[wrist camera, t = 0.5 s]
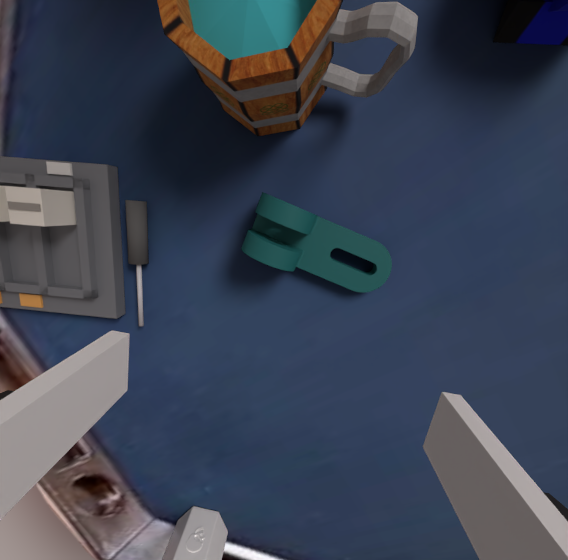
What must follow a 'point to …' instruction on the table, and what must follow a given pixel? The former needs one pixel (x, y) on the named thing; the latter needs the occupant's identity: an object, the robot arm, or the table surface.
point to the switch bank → (65, 243)
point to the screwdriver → (137, 243)
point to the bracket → (313, 245)
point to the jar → (197, 536)
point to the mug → (282, 52)
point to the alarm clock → (534, 22)
